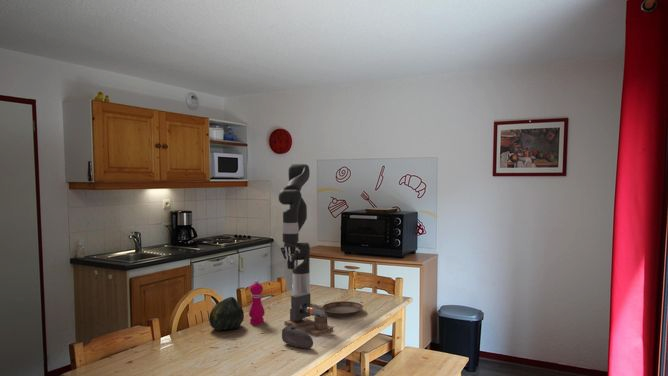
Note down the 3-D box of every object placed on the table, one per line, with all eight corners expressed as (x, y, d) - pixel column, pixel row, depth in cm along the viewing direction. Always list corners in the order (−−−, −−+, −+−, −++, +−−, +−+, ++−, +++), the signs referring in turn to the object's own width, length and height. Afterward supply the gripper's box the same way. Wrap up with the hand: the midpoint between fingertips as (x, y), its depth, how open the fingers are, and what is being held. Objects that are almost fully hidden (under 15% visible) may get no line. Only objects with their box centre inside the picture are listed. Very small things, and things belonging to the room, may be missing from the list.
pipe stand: (284, 324, 203) (284, 309, 203) (301, 319, 210) (300, 305, 210) (316, 336, 188) (316, 319, 188) (333, 330, 195) (333, 314, 194)
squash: (201, 315, 201) (212, 294, 194) (229, 309, 212) (241, 289, 205) (212, 341, 193) (225, 321, 187) (241, 334, 204) (254, 314, 197)
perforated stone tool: (317, 348, 174) (316, 331, 174) (308, 353, 170) (307, 335, 170) (289, 340, 183) (289, 324, 183) (280, 344, 179) (280, 327, 179)
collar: (291, 319, 200) (291, 296, 200) (306, 314, 207) (306, 292, 207) (295, 320, 198) (295, 297, 198) (310, 316, 205) (310, 293, 204)
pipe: (291, 310, 205) (291, 302, 205) (296, 308, 207) (296, 301, 207) (320, 319, 191) (320, 311, 190) (326, 317, 193) (325, 309, 193)
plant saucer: (318, 318, 213) (317, 311, 213) (326, 306, 233) (326, 300, 233) (360, 320, 209) (360, 313, 209) (365, 308, 230) (365, 301, 230)
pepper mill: (261, 325, 203) (260, 282, 203) (246, 324, 204) (246, 281, 204) (266, 320, 210) (266, 278, 210) (252, 319, 211) (252, 278, 211)
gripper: (275, 231, 209) (275, 268, 209) (293, 233, 200) (293, 272, 200) (287, 230, 214) (288, 265, 215) (305, 232, 205) (306, 269, 205)
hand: (291, 268), depth 207 cm, fingers closed
